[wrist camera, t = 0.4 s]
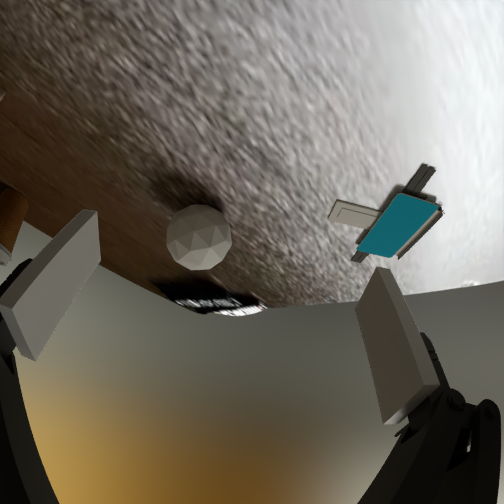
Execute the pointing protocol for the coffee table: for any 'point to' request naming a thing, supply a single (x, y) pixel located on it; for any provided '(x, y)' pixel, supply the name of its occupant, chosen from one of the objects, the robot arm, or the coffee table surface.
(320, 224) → the coffee table surface
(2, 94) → the guide lane
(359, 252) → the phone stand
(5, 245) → the disposable coffee cup
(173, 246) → the geometric ball
